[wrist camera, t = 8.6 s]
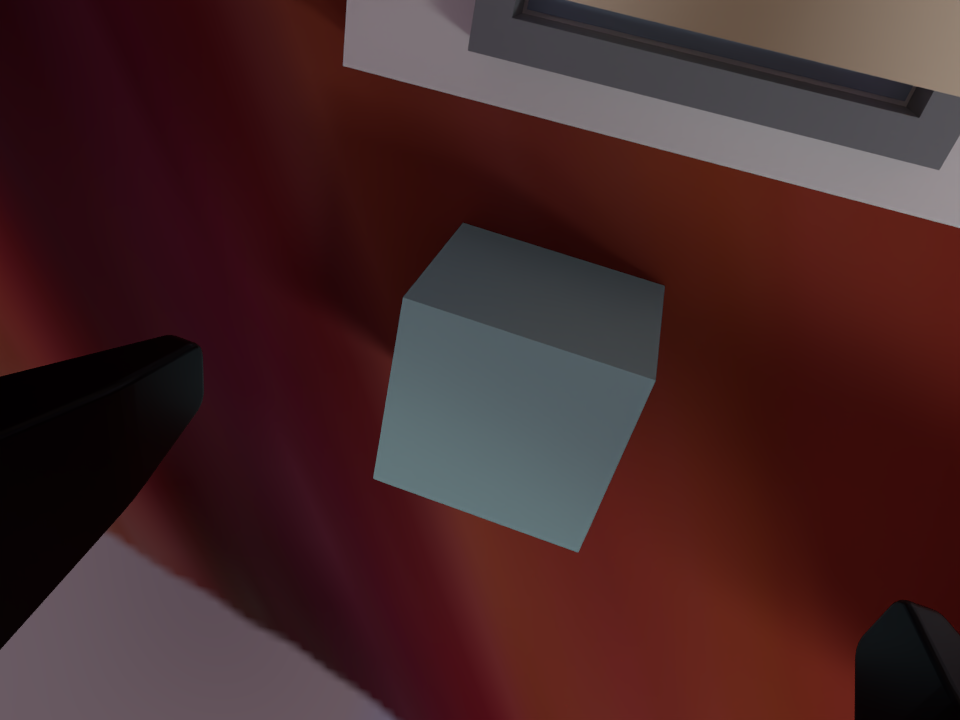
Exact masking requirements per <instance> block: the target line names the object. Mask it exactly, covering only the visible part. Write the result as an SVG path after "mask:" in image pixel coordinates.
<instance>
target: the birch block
mask: <svg viewBox="0 0 960 720" xmlns="http://www.w3.org/2000/svg"><path fill="white" fill-rule="evenodd" d="M568 1H572V2H576V3H580V4H584V5H588V6H592V7H596V8H600V9H604V10H609V11H613V12H617V13H621V14H625V15H629V16H633V17H637V18H641V19H645V20H649V21H653V22H657V23H661V24H665V25H669V26H674V27H678V28H682V29H686V30H690V31H694V32H698V33H702V34H706V35H710V36H714V37H718V38H722V39H726V40H730V41H734V42H739V43H743V44H747V45H751V46H755V47H759V48H763V49H767V50H771V51H775V52H779V53H783V54H787V55H791V56H795V57H799V58H804V59H808V60H812V61H816V62H820V63H824V64H828V65H832V66H836V67H840V68H844V69H848V70H852V71H856V72H860V73H864V74H869V75H873V76H877V77H881V78H885V79H889V80H893V81H897V82H901V83H905V84H909V85H913V86H917V87H921V88H925V89H929V90H934V91H938V92H942V93H946V94H950V95H954V96H958V97H960V0H568Z"/></svg>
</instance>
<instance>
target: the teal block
mask: <svg viewBox="0 0 960 720" xmlns="http://www.w3.org/2000/svg"><path fill="white" fill-rule="evenodd" d="M664 290H665V286H664V285H661V284H657V283H654V282H651V281H648V280H645V279H641V278H638V277H635V276H632V275H629V274H625V273H622V272H619V271H616V270H613V269H609V268H606V267H603V266H600V265H597V264H593V263H590V262H587V261H584V260H581V259H577V258H574V257H571V256H568V255H565V254H562V253H558V252H555V251H552V250H549V249H546V248H542V247H539V246H536V245H533V244H530V243H526V242H523V241H520V240H517V239H514V238H510V237H507V236H504V235H501V234H498V233H494V232H491V231H488V230H485V229H482V228H478V227H475V226H472V225H469V224H466V223H462V225H461V226H460V227H459V228H458V230H457V231H456V232H455V233H454V235H453V236H452V237H451V238H450V240H449V241H448V242H447V243H446V244H445V246H444V247H443V248H442V249H441V251H440V252H439V253H438V254H437V256H436V257H435V258H434V259H433V261H432V262H431V263H430V264H429V266H428V267H427V268H426V269H425V271H424V272H423V273H422V274H421V276H420V277H419V278H418V279H417V281H416V282H415V283H414V284H413V286H412V287H411V288H410V289H409V291H408V292H407V293H406V294H405V295H404V297H403V300H402V306H401V312H400V319H399V325H398V331H397V337H396V343H395V349H394V355H393V361H392V368H391V374H390V380H389V386H388V392H387V398H386V404H385V410H384V416H383V423H382V429H381V435H380V441H379V447H378V453H377V459H376V465H375V471H374V478H373V479H376V480H378V481H381V482H384V483H387V484H389V485H392V486H395V487H398V488H401V489H403V490H406V491H409V492H412V493H414V494H417V495H420V496H423V497H425V498H428V499H431V500H434V501H437V502H439V503H442V504H445V505H448V506H450V507H453V508H456V509H459V510H462V511H464V512H467V513H470V514H473V515H475V516H478V517H481V518H484V519H487V520H489V521H492V522H495V523H498V524H500V525H503V526H506V527H509V528H511V529H514V530H517V531H520V532H523V533H525V534H528V535H531V536H534V537H536V538H539V539H542V540H545V541H548V542H550V543H553V544H556V545H559V546H561V547H564V548H567V549H570V550H573V551H575V552H579V550H580V547H581V545H582V543H583V541H584V538H585V536H586V534H587V532H588V530H589V527H590V525H591V523H592V521H593V518H594V516H595V514H596V512H597V510H598V507H599V505H600V503H601V501H602V498H603V496H604V494H605V492H606V490H607V487H608V485H609V483H610V481H611V479H612V476H613V474H614V472H615V470H616V467H617V465H618V463H619V461H620V459H621V456H622V454H623V452H624V450H625V447H626V445H627V443H628V441H629V439H630V436H631V434H632V432H633V430H634V427H635V425H636V423H637V421H638V419H639V416H640V414H641V412H642V410H643V407H644V405H645V403H646V401H647V399H648V396H649V394H650V392H651V390H652V388H653V385H654V383H655V381H656V372H657V362H658V351H659V341H660V331H661V321H662V310H663V300H664Z"/></svg>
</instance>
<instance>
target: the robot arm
mask: <svg viewBox="0 0 960 720" xmlns="http://www.w3.org/2000/svg"><path fill="white" fill-rule="evenodd" d="M203 394H204V384H203V354H202V350H201V348H200V346H199V345H197V344H196V343H194V342H191V341H188V340H186V339H183V338H180V337H177V336H173V335H166V336H161V337H157V338H153V339H149V340H145V341H141V342H137V343H133V344H129V345H125V346H121V347H117V348H113V349H109V350H105V351H101V352H97V353H93V354H89V355H85V356H81V357H77V358H73V359H69V360H65V361H61V362H57V363H53V364H49V365H45V366H41V367H37V368H33V369H29V370H25V371H21V372H17V373H13V374H9V375H5V376H1V377H0V649H1V648H2V647H3V646H4V645H5V644H6V643H7V641H8V640H9V639H10V638H11V637H12V636H13V635H14V633H16V631H17V630H18V629H19V628H20V627H21V626H22V625H23V624H24V622H25V621H26V620H27V619H28V618H29V617H30V615H32V613H33V612H34V611H35V610H36V609H37V608H38V607H39V606H40V604H41V603H42V602H43V601H44V600H45V599H46V598H47V596H49V594H50V593H51V592H52V591H53V590H54V589H55V588H56V587H57V585H58V584H59V583H60V582H61V581H62V580H63V579H64V578H65V576H66V575H67V574H68V573H69V572H70V571H71V570H72V569H73V568H74V566H75V565H76V564H77V563H78V562H79V561H80V560H81V559H82V557H83V556H84V555H85V554H86V553H87V552H88V551H89V550H90V548H91V547H92V546H93V545H94V544H95V543H96V542H97V541H98V540H99V538H100V537H101V536H102V535H103V534H104V533H105V532H106V531H107V529H108V528H109V527H110V526H111V525H112V524H113V523H114V522H115V520H116V519H117V518H118V517H119V516H120V515H121V514H122V512H123V511H124V510H125V509H126V508H127V507H128V505H129V504H130V503H131V502H132V501H133V499H134V498H135V497H136V496H137V494H138V493H139V492H140V490H141V489H142V488H143V486H144V485H145V484H146V482H147V481H148V479H149V478H150V477H151V475H152V474H153V472H154V471H155V470H156V468H157V467H158V465H159V464H160V463H161V461H162V460H163V458H164V457H165V456H166V454H167V453H168V452H169V450H170V449H171V447H172V446H173V445H174V443H175V442H176V440H177V439H178V438H179V436H180V435H181V433H182V432H183V431H184V429H185V428H186V426H187V425H188V424H189V422H190V421H191V419H192V418H193V417H194V415H195V414H196V412H197V411H198V409H199V407H200V405H201V403H202V400H203ZM855 720H960V635H959V634H958V633H957V631H956V630H955V629H954V628H953V627H952V626H951V624H950V623H949V622H948V621H947V620H946V619H945V618H944V616H943V615H941V614H940V613H939V612H937V611H935V610H933V609H930V608H928V607H925V606H922V605H919V604H916V603H914V602H911V601H908V600H899V601H897V602H894V603H893V604H892V605H891V606H890V607H889V608H888V609H887V610H886V611H885V612H884V614H883V615H882V616H881V617H880V618H879V619H878V620H877V621H876V622H875V623H874V624H873V625H872V626H871V628H870V629H869V630H868V631H867V632H866V633H865V634H864V635H863V636H862V638H861V639H860V641H859V643H858V646H857V650H856V655H855Z"/></svg>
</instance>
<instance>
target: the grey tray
mask: <svg viewBox="0 0 960 720" xmlns="http://www.w3.org/2000/svg"><path fill="white" fill-rule="evenodd" d="M343 66H345V67H349V68H353V69H357V70H361V71H364V72H368V73H372V74H376V75H380V76H383V77H387V78H391V79H395V80H399V81H402V82H406V83H410V84H414V85H418V86H421V87H425V88H429V89H433V90H437V91H441V92H444V93H448V94H452V95H456V96H460V97H463V98H467V99H471V100H475V101H479V102H482V103H486V104H490V105H494V106H498V107H501V108H505V109H509V110H513V111H517V112H520V113H524V114H528V115H532V116H536V117H540V118H543V119H547V120H551V121H555V122H559V123H562V124H566V125H570V126H574V127H578V128H581V129H585V130H589V131H593V132H597V133H600V134H604V135H608V136H612V137H616V138H619V139H623V140H627V141H631V142H635V143H638V144H642V145H646V146H650V147H654V148H658V149H661V150H665V151H669V152H673V153H677V154H680V155H684V156H688V157H692V158H696V159H699V160H703V161H707V162H711V163H715V164H718V165H722V166H726V167H730V168H734V169H737V170H741V171H745V172H749V173H753V174H757V175H760V176H764V177H768V178H772V179H776V180H779V181H783V182H787V183H791V184H795V185H798V186H802V187H806V188H810V189H814V190H817V191H821V192H825V193H829V194H833V195H836V196H840V197H844V198H848V199H852V200H856V201H859V202H863V203H867V204H871V205H875V206H878V207H882V208H886V209H890V210H894V211H897V212H901V213H905V214H909V215H913V216H916V217H920V218H924V219H928V220H932V221H935V222H939V223H943V224H947V225H951V226H955V227H958V228H960V97H958V96H954V95H950V94H946V93H942V92H938V91H934V90H929V89H925V88H921V87H917V86H913V85H909V84H905V83H901V82H897V81H893V80H889V79H885V78H881V77H877V76H873V75H869V74H864V73H860V72H856V71H852V70H848V69H844V68H840V67H836V66H832V65H828V64H824V63H820V62H816V61H812V60H808V59H804V58H799V57H795V56H791V55H787V54H783V53H779V52H775V51H771V50H767V49H763V48H759V47H755V46H751V45H747V44H743V43H739V42H734V41H730V40H726V39H722V38H718V37H714V36H710V35H706V34H702V33H698V32H694V31H690V30H686V29H682V28H678V27H674V26H669V25H665V24H661V23H657V22H653V21H649V20H645V19H641V18H637V17H633V16H629V15H625V14H621V13H617V12H613V11H609V10H604V9H600V8H596V7H592V6H588V5H584V4H580V3H576V2H572V1H568V0H347V7H346V23H345V40H344V56H343Z"/></svg>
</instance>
